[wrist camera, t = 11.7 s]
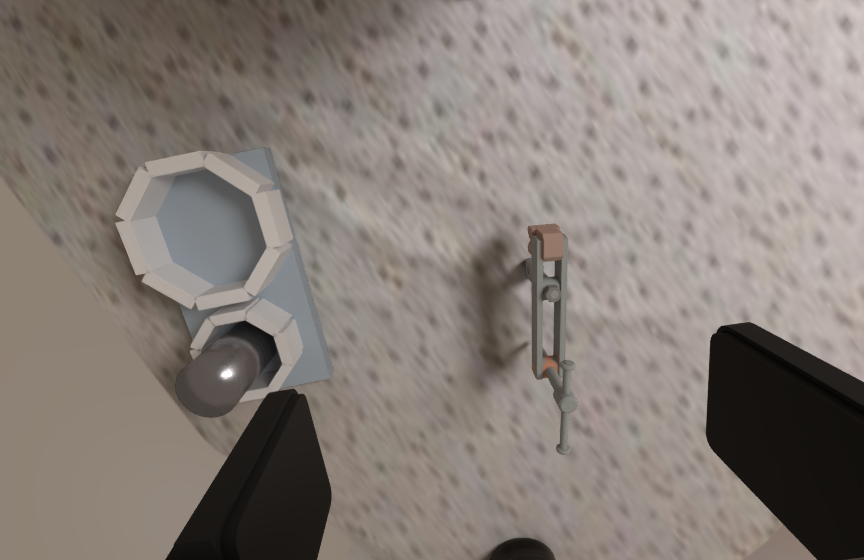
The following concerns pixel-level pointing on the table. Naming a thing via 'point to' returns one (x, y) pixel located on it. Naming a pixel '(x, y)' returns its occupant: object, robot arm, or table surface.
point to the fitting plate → (226, 256)
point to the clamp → (554, 247)
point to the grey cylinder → (225, 370)
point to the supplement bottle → (523, 550)
